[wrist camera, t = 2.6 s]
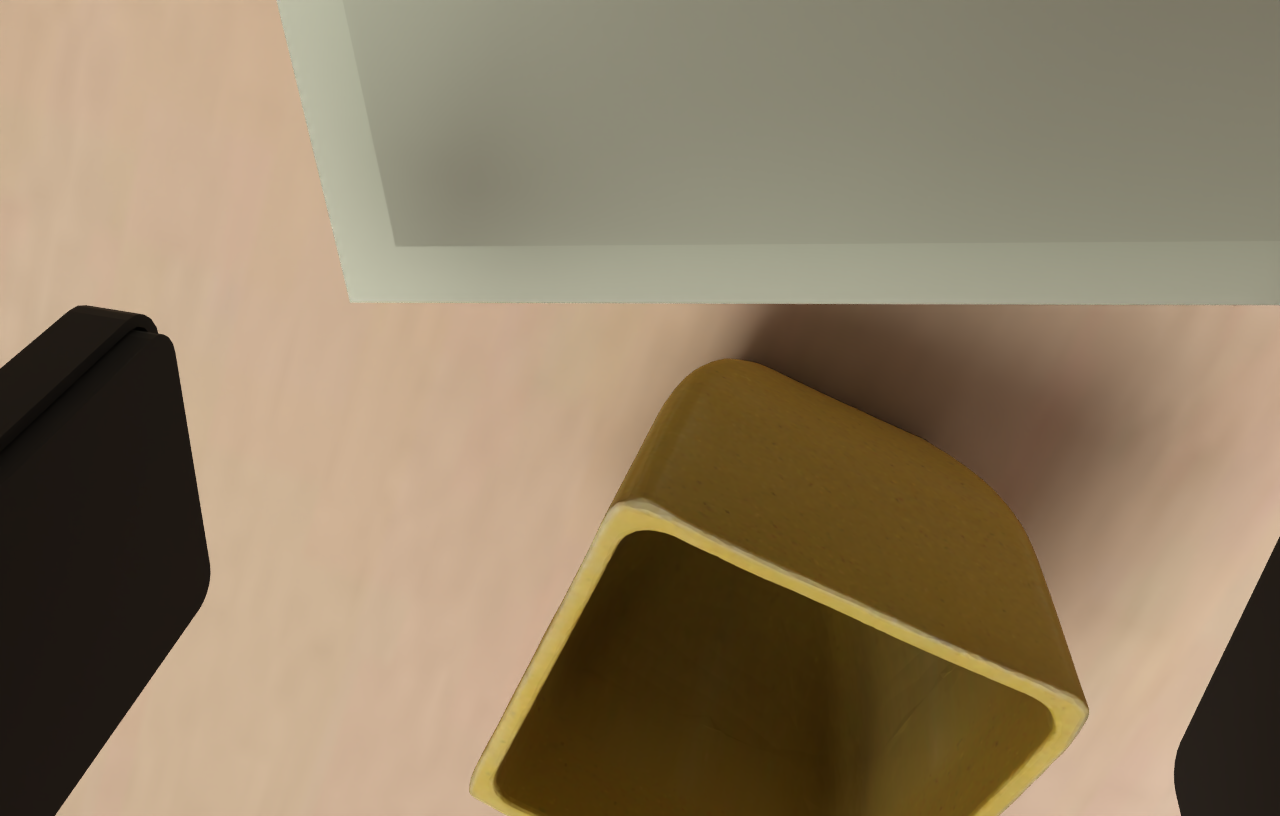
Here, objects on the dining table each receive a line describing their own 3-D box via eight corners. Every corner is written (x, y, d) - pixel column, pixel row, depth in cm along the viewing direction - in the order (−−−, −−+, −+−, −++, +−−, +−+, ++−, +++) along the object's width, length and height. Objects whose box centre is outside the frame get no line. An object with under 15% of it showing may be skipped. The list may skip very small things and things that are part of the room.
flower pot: (560, 524, 32) (456, 804, 24) (694, 252, 27) (616, 498, 19) (864, 656, 32) (854, 969, 25) (1050, 414, 27) (1106, 714, 20)
